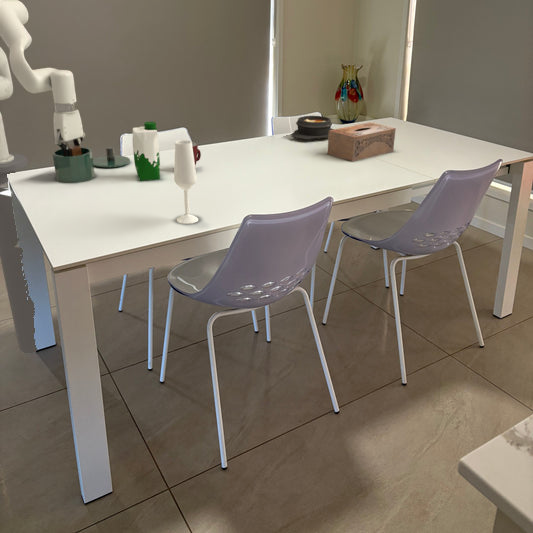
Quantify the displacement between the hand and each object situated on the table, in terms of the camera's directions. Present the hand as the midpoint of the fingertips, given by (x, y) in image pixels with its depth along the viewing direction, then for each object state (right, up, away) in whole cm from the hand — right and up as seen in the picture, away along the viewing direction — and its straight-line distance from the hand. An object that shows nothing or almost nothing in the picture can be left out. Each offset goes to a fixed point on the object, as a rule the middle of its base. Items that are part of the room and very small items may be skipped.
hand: (72, 157), depth 214 cm
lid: (+9, +2, +19) cm, 21 cm away
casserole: (+93, +21, +62) cm, 114 cm away
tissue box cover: (+111, +9, +38) cm, 118 cm away
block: (0, 0, 0) cm, 0 cm away
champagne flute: (+46, -26, -34) cm, 63 cm away
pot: (0, -7, +3) cm, 7 cm away
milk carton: (+27, -7, +4) cm, 28 cm away
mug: (+41, -2, +13) cm, 43 cm away
